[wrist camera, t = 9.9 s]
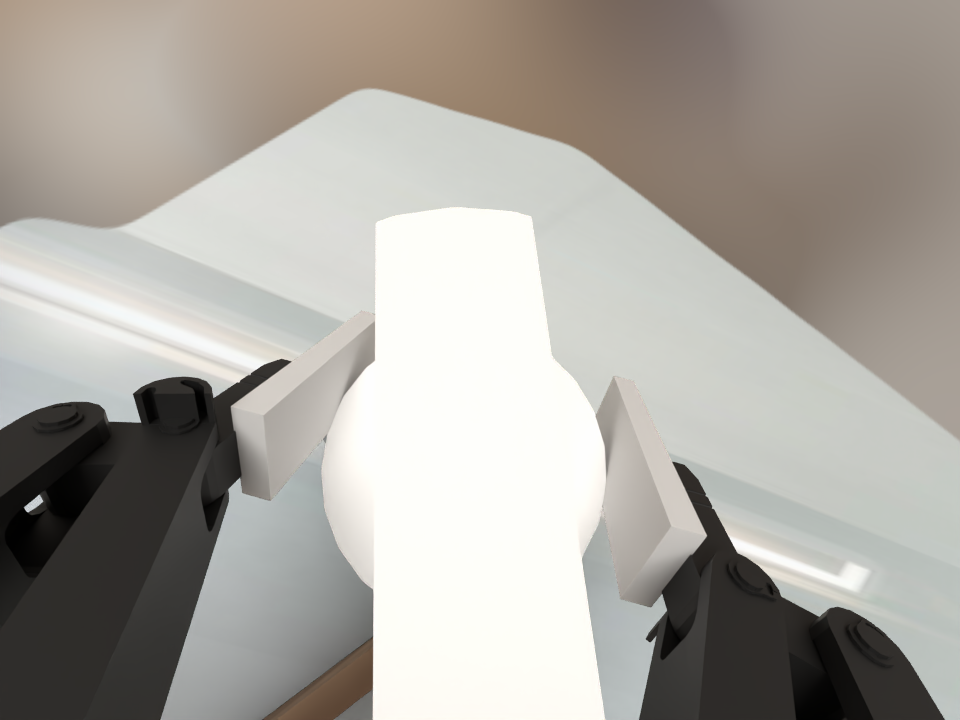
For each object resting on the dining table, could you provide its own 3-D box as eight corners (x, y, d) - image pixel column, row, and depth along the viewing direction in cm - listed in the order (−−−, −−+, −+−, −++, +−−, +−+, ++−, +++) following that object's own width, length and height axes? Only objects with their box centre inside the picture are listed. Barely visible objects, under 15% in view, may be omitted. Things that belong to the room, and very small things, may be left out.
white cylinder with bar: (370, 377, 18) (213, 215, 7) (545, 366, 19) (675, 199, 7) (368, 579, 16) (101, 877, 4) (572, 558, 16) (840, 766, 5)
